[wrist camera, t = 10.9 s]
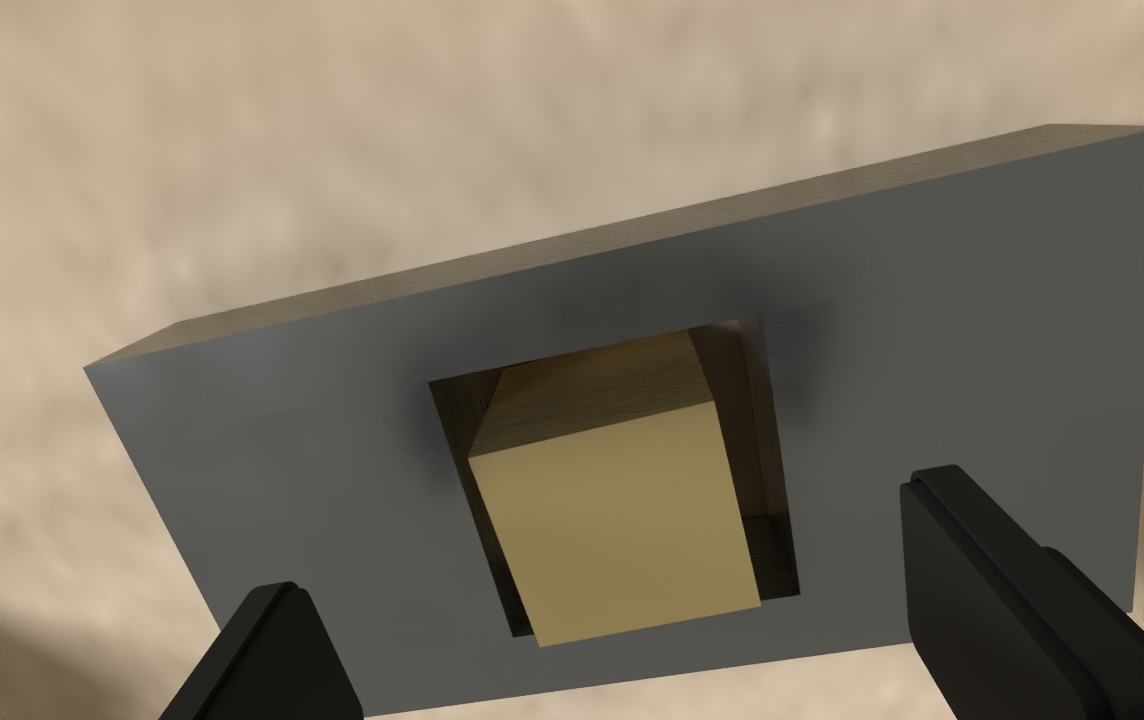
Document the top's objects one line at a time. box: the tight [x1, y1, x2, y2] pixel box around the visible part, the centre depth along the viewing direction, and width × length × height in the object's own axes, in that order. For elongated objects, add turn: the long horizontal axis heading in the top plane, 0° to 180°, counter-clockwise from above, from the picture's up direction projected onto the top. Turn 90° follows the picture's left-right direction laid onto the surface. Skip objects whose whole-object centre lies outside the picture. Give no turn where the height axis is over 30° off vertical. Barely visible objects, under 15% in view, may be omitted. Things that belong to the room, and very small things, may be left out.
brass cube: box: [468, 329, 761, 647], centre depth 14 cm, size 4×4×4 cm
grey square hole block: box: [83, 124, 1144, 717], centre depth 15 cm, size 10×20×3 cm, turn 103°
